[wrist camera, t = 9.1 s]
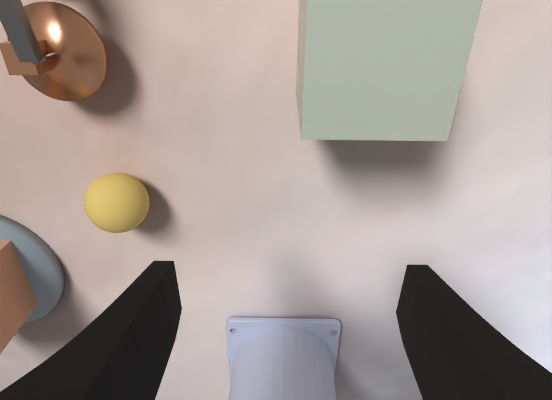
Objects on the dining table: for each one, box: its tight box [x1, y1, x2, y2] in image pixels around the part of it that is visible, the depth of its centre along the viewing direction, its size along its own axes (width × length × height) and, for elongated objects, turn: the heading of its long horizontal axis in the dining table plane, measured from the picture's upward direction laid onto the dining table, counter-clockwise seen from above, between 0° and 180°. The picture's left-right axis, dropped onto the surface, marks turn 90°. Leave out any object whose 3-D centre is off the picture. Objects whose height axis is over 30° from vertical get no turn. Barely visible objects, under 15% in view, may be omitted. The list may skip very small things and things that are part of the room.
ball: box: [84, 173, 149, 233], centre depth 20 cm, size 3×3×3 cm
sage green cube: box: [296, 0, 483, 141], centre depth 15 cm, size 5×5×6 cm
